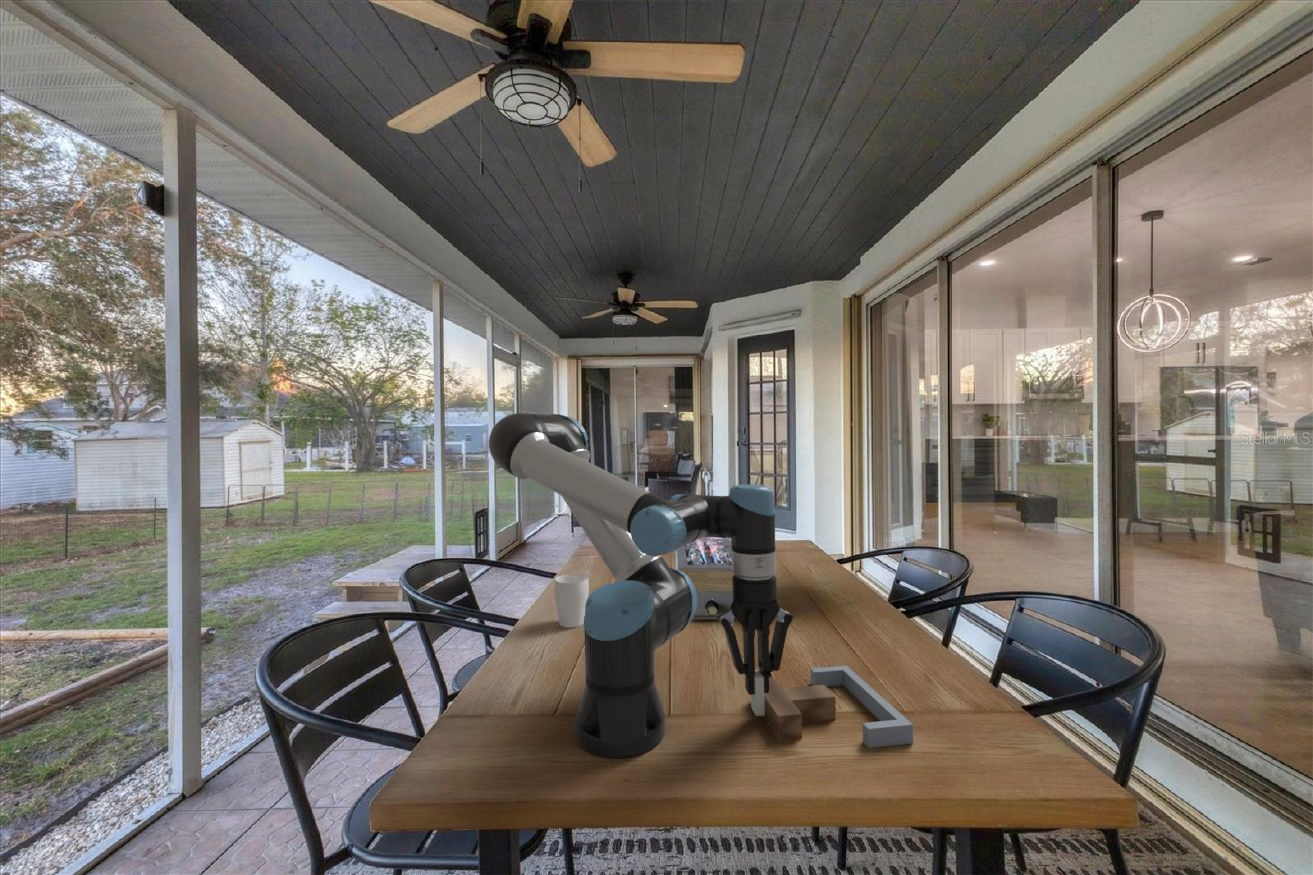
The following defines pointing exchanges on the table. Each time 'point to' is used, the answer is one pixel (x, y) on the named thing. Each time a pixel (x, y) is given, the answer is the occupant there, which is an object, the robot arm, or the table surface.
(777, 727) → the walnut T
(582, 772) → the table surface
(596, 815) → the table surface
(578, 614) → the cup
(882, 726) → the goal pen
